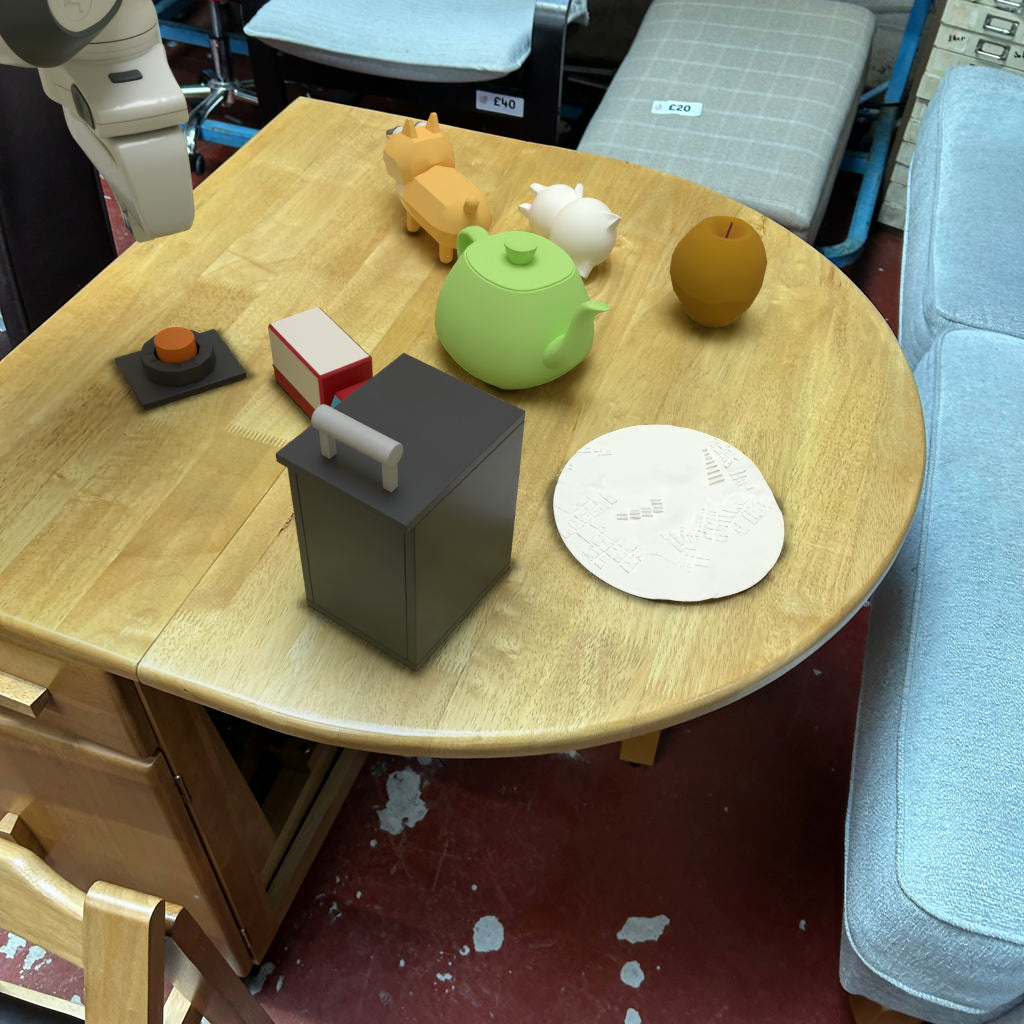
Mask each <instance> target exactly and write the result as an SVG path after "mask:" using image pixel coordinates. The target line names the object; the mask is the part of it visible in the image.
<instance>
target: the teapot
mask: <svg viewBox="0 0 1024 1024" xmlns="http://www.w3.org/2000/svg"><path fill="white" fill-rule="evenodd" d="M456 255H457V260H456V262H455V263H454V265H453V266H452V268H451V270H450V271H449V272H448V273H447V276H446V278H445V279H444V281H443V284H442V286H441V289H440V292H439V295H438V298H437V302H436V306H435V314H434V327H435V331H436V335H437V336H438V340H439V342H440V343H441V345H442V348H444V350H445V351H446V352H447V354H448V355H449V356H450V357H451V359H452V360H453V361H454V362H456V364H457V365H458V366H460V367H461V368H462V369H463V370H464V371H465V372H467V373H468V374H470V375H471V376H473V377H474V378H476V379H478V380H479V381H482V382H484V383H486V384H488V385H491V386H494V387H497V388H498V389H501V390H505V391H506V390H525V389H530V388H536V387H538V386H541V385H545V384H547V383H551V382H553V381H554V380H556V379H559V378H560V377H562V376H564V375H566V374H567V373H569V372H570V371H571V370H573V369H575V367H577V366H578V365H579V364H581V362H582V361H584V360H585V359H586V358H587V356H588V355H589V353H590V351H591V349H592V347H593V343H594V335H595V323H594V322H595V319H596V317H597V315H599V314H601V313H604V312H608V311H610V310H611V308H612V307H611V306H610V305H609V304H607V303H605V302H602V301H598V300H591V299H590V296H589V293H588V291H587V288H586V285H585V283H584V281H583V277H582V276H580V274H579V272H578V269H577V268H576V266H575V264H574V262H573V261H572V259H571V258H570V256H569V255H568V254H567V253H566V252H565V251H564V250H563V249H562V248H560V247H559V246H558V245H556V244H555V243H553V242H552V241H550V240H548V239H546V238H544V237H542V236H539V235H537V234H534V233H533V232H529V231H525V230H507V231H502V232H497V233H495V234H494V233H493V234H492V235H491V234H490V233H489V232H487V231H486V230H485V229H483V228H482V227H479V226H470V227H466V228H464V229H463V230H461V231H460V232H459V234H458V237H457V249H456Z"/></svg>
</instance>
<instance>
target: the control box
mask: <svg viewBox="0 0 1024 1024" xmlns="http://www.w3.org/2000/svg"><path fill="white" fill-rule="evenodd" d="M189 330H190V331H192V333H193V334H194V338H195V343H196V347H197V354H196V356H195V357H194V358H192V359H191V360H189V361H185V362H182V363H165V362H162V361H161V360H160V359H159V358H158V355H157V351H156V347H155V343H154V338H155V336H156V334H154V335H153V336H152V337H151V338H149V339H148V340H147V341H145V342H144V343H143V344H142V346H141V350H137V351H133V352H129V353H127V354H123V355H119V356H117V357H115V358H114V361H115V364H116V366H117V368H118V369H119V371H120V373H121V374H122V375H123V377H124V379H125V381H126V383H127V384H128V386H129V388H130V389H131V391H132V392H133V394H134V396H135V398H136V399H137V401H138V402H139V404H140V406H141V408H142V409H143V411H148V410H150V409H153V408H156V407H159V406H163V405H167V404H170V403H172V402H175V401H179V400H182V399H184V398H187V397H190V396H194V395H197V394H200V393H204V392H206V391H209V390H212V389H215V388H218V387H221V386H225V385H229V384H231V383H234V382H238V381H241V380H243V379H246V378H247V377H248V376H247V371H246V370H245V369H244V367H243V366H242V364H241V363H240V362H239V360H238V359H237V358H236V356H235V355H234V353H233V352H232V350H231V349H230V348H229V347H228V345H227V344H226V343H225V341H224V340H223V339H222V337H221V335H220V334H219V333H218V332H217V330H216V329H215V328H212V329H209V330H205V331H202V332H199V331H196V330H194V329H189Z"/></svg>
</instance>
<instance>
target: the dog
mask: <svg viewBox="0 0 1024 1024" xmlns="http://www.w3.org/2000/svg"><path fill="white" fill-rule="evenodd" d="M385 136H386V138H385V139H384V144H385V145H384V147H383V149H382V157H383V162H384V165H385V169H386V172H387V175H388V176H389V177H391V178H392V179H394V180H395V185H394V190H395V192H396V194H397V196H398V198H399V200H400V203H401V205H402V206H403V208H405V210H406V227H407V230H408V231H409V232H411V233H416V232H418V231H419V229H420V227H421V228H423V230H424V231H426V232H427V233H428V234H429V235H430V236H431V237H432V238H433V239H434V240H435V242H437V243H438V244H439V247H438V250H439V252H438V257H439V261H440V262H441V263H442V264H449V263H451V262H453V261H452V260H453V257H454V255H453V254H454V250H457V237H458V234H459V232H460V231H461V230H463V229H464V228H466V227H470V226H479V227H482V228H483V229H485V230H486V231H487V232H488V233H489V231H490V229H491V227H492V225H493V214H492V211H491V208H490V206H489V203H488V201H487V198H486V196H485V194H484V193H483V192H482V190H480V188H478V187H477V186H476V185H474V184H473V183H472V182H471V181H470V180H469V179H467V177H465V176H464V175H463V174H462V173H460V172H459V171H458V170H457V169H456V157H455V152H454V147H453V145H452V143H451V142H450V140H449V137H448V136H447V134H446V132H445V131H444V130H443V129H442V128H440V124H439V119H438V114H437V113H436V112H435V111H434V112H430V114H429V117H428V119H427V121H417V122H416V123H415V124H414V120H413V118H412V117H406V118H405V121H404V123H403V126H401V125H396V126H395V127H394V128H389V129H386V132H385Z"/></svg>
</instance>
